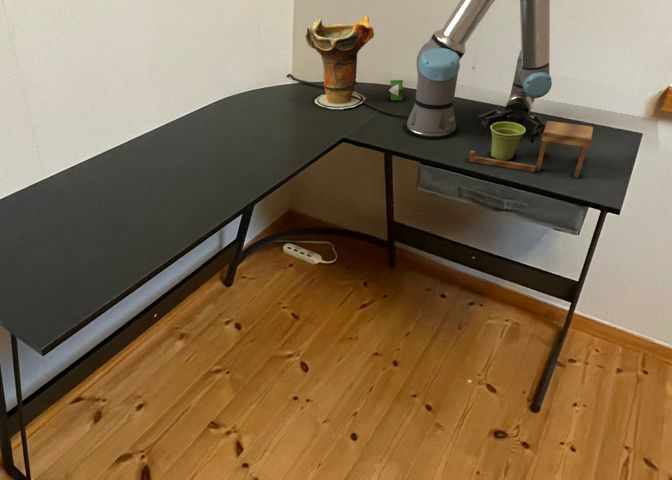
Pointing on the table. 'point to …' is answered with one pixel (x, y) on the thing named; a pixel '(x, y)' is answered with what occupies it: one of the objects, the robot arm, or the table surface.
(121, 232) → the table surface
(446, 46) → the robot arm
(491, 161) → the plant stand
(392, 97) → the geometric puzzle
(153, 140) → the table surface
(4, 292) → the table surface
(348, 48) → the decorative vase
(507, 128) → the plant pot
